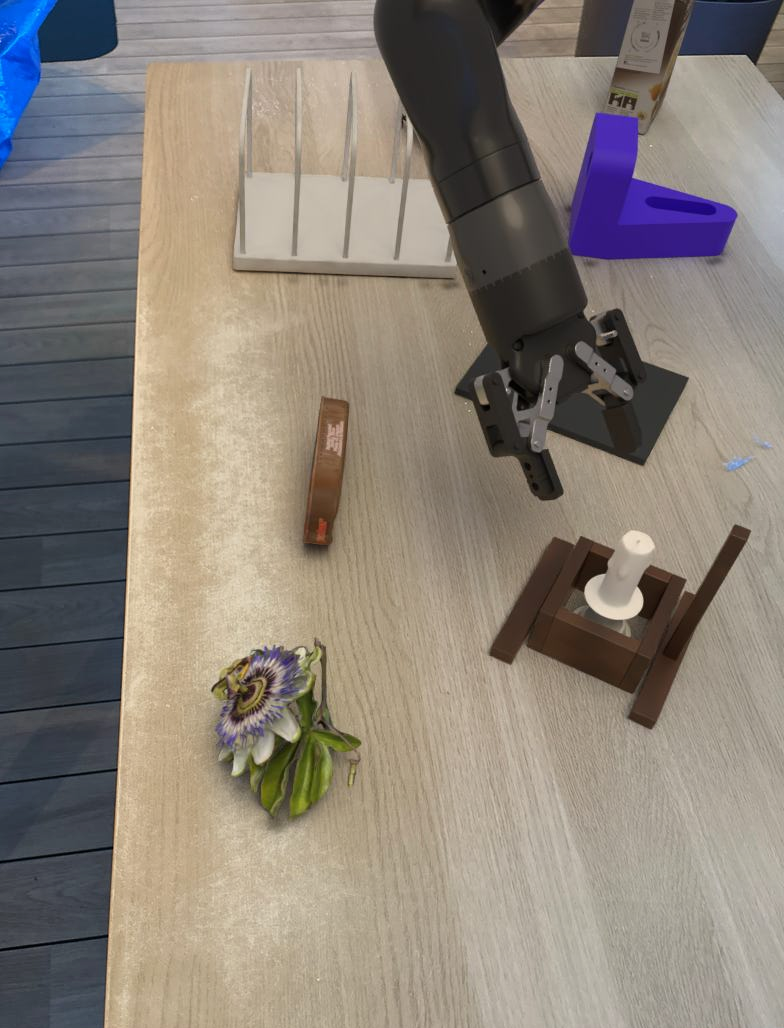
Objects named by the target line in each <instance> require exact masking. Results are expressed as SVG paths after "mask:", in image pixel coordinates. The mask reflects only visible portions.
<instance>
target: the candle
mask: <svg viewBox="0 0 784 1028" xmlns="http://www.w3.org/2000/svg"><path fill="white" fill-rule="evenodd" d="M614 550H615V552H614V554H613V555H612V557H611V558H610V560H609V561H608V570H607V572H606V574H601V575H598V576H595V577H593V578H592V579H591V580H589V582H588V583H587V584H586V586H585V590H584V591H583V592H584V600H585V601H586V603H587V604H585V605H581V606H579V607H577V608H575V609H574V610H573V611H572V612H573V613H575V614H578V615H580V616H582V617H585V618H587V619H589V620H592V621H594V622H596V623H598V624H601V625H603V626H605V627H608V628H610V629H612V630H615V631H617V632H619V633H621V634H624V635H626V636H628V637H631V638H632V632H631V627H630V625H629V623H628V621H627V620H630V619H632V618H634V617H636V616H637V615H638V613H639V612H640V611H641V609H642V607H643V596H642V593H641V591H640V590H639V588H638V587H637V585H638V583H639V581H640V579H641V577H642V575H643V572H644V571H645V569H647V568H648V567H649V566H650V565H651V564H652V558H653V555H654V553H655V551H656V545H655V543H654V540H653V539H652V537H651V536H649V535H648V534H646V533H645V532H643V531H639V530H634V529H631V530H629V531H628V532H627V533H625V534H624V535H622V536H621V537H620V539H619V541H618V543H617V545H616V547H615V549H614Z"/></svg>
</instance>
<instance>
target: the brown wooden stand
mask: <svg viewBox="0 0 784 1028" xmlns="http://www.w3.org/2000/svg"><path fill="white" fill-rule="evenodd" d="M751 533H752V530H751V529H749V528H747V527H744V526H742V525H739V524H737V523H735V524H734V525H733V526H732V528H731V530H730V531H729V534H728V535H727V537H726V539H725V540H724V542H723V544H722V545H721V548H720V549H719V551H718V553H717V554H716V556H715V558H714V560H713V562H712V564H711V565H710V567H709V569H708V571H707V572H706V573H705V576H704V578H703V579H702V581H701V583H700V584H699V586H698V588H697V589H696V592H695V593H692V592H690V591H687V590H684V588H685V585H686V584H687V580H688V579H687V578H685V577H682V576H680V575H677V574H675V573H672V572H670V571H667V570H665V569H663V568H660V567H658V566H655V565H653V564H650V566H649V567H648V568H647V569H645V571H644V572H643V575H642V577H641V579H640V581H639V583H638V585H637V587H638V588H639V590H640V591H641V593H642V596H643V607H642V609H641V611H640V612H639V613H638V614H637V615H638V616H641V617H643V618H645V619H648V622H647V625H646V627H645V629H644V630H643V633H642V635H641V638H640V639H639V640H637V639H635V638H633V637H632V636H631V637H628V636H626V635H624V634H621V633H619V632H617V631H615V630H612V629H610V628H608V627H605V626H603V625H601V624H598V623H596V622H594V621H592V620H589V619H587V618H585V617H582V616H580V615H578V614H575V613H573V611H570V610H568V609H566V608H565V607H566V605H567V603H568V601H569V599H570V597H571V596H572V593H573V591H574V589H578V590H580V591H582V592H584V590H585V586H586V584H587V583H588V582H589V580H591V579H592V578H593V577H595V576H598V575H601V574H606V572H607V570H608V561H609V560H610V558H611V557H612V555H613V554H614V552H615V549H614V548H611V547H609V546H607V545H604V544H601V543H600V542H597V541H595V540H592V539H590V538H588V537H585V536H583V535H580V536H579V537H578V540H577V541H576V543H575V544H574V543H571V542H569V541H567V540H564V539H562V538H560V537H558V536H553V537H552V539H551V540H550V542H549V544H548V546H547V548H546V550H545V551H544V553H543V555H542V556H541V558H540V559H539V560H540V561H539V562H538V563H537V565H536V567H535V569H534V570H533V573H532V574H531V576H530V577H529V580H528V581H527V583H526V585H525V587H524V588H523V591H522V592H521V593H520V596H519V597H518V599H517V601H516V602H515V604H514V606H513V607H512V610H511V611H510V613H509V615H508V617H507V618H506V620H505V622H504V624H503V625H502V627H501V629H500V630H499V633H498V634H497V636H496V638H495V640H494V641H493V643H492V645H491V647H490V650H489V653H488V654H489V656H490V657H493V658H495V659H497V660H500V661H502V662H504V663H506V664H508V665H513V662H514V661H515V659H516V657H517V655H518V653H519V652H520V650H521V648H522V646H523V644H524V642H525V640H526V639H527V637H528V635H529V633H530V631H531V629H532V628H533V629H532V632H531V634H530V636H529V640H528V642H527V644H526V645H527V646H526V647H527V648H530V649H531V650H533V651H536V652H538V653H541V654H542V655H545V656H547V657H550V658H551V659H554V660H556V661H558V662H561V663H563V664H565V665H567V666H569V667H572V668H574V669H576V670H579V671H581V672H583V673H585V674H588V675H589V676H592V677H594V678H596V679H597V680H601V681H603V682H605V683H607V684H609V685H611V686H614V687H616V688H619V689H621V690H623V691H624V692H627V693H629V694H631V695H632V694H634V693H635V691H636V689H637V687H638V685H639V683H640V681H641V679H642V678H643V676H644V674H645V672H646V671H647V669H648V668H649V669H648V671H647V674H646V676H645V678H644V681H643V683H642V685H641V687H640V690H639V691H638V694H637V696H636V699H635V700H634V703H633V705H632V707H631V710H630V712H629V714H628V717H627V719H628V720H631V721H632V722H634V723H637V724H639V725H641V726H643V727H646V728H648V729H650V730H652V729H653V728H654V727H655V725H656V724H657V722H658V720H659V717H660V715H661V713H662V710H663V707H664V706H665V703H666V700H667V698H668V695H669V693H670V690H671V688H672V687H673V686H672V685H673V684H674V681H675V679H676V677H677V674H678V672H679V670H680V668H681V664H682V663H683V660H684V658H685V655H686V653H687V651H688V648H689V646H690V644H691V641H692V638H693V636H694V634H695V631H696V629H697V627H698V625H700V622H701V620H702V618H703V617H704V615H705V613H706V611H707V610H708V608H709V607H710V605H711V603H712V601H713V600H714V598H715V596H716V595H717V593H718V591H719V590H720V588H721V586H722V584H723V583H724V582H725V579H726V578H727V576H728V575H729V573H730V571H731V569H732V567H733V566H734V564H735V563H736V561H737V559H738V558H739V556H740V554H741V552H742V551H743V549H744V547H746V546H745V545H746V544H747V542H748V540H749V537H750V535H751ZM683 590H684V592H683ZM682 592H683V594H682ZM681 595H682V596H681ZM658 646H659V647H658ZM657 648H658V649H657ZM651 661H652V662H651ZM650 663H651V665H650ZM649 665H650V667H649Z"/></svg>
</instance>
